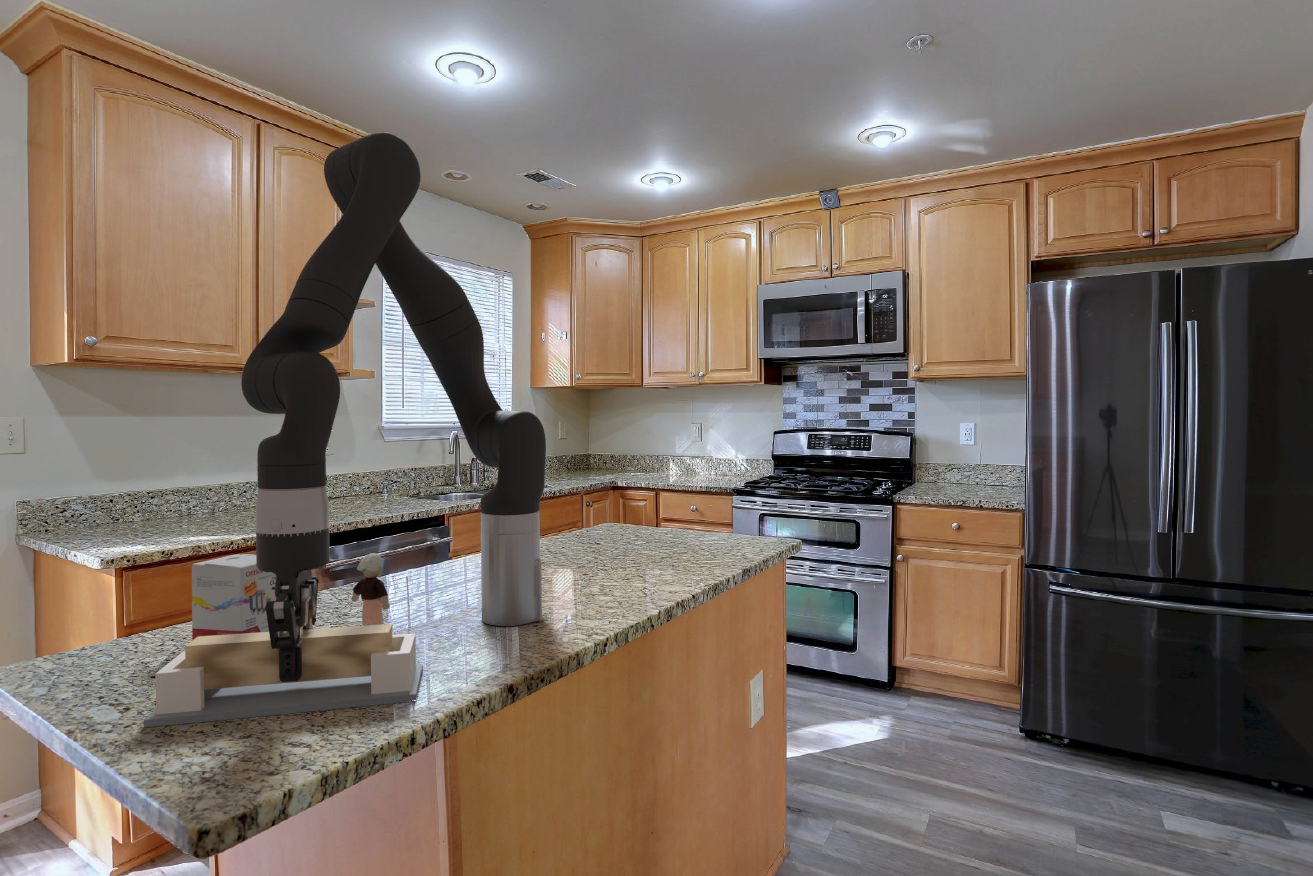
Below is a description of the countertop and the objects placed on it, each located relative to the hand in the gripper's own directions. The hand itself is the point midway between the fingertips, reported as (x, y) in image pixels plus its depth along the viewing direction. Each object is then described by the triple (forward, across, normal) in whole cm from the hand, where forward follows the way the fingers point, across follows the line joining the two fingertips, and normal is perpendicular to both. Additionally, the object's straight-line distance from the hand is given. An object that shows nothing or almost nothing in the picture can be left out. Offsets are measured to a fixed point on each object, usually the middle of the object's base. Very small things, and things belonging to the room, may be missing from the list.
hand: (295, 673), depth 81 cm
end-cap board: (+3, 0, 0) cm, 3 cm away
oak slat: (0, 0, 0) cm, 0 cm away
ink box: (+3, +26, +13) cm, 29 cm away
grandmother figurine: (+3, +20, -6) cm, 20 cm away
